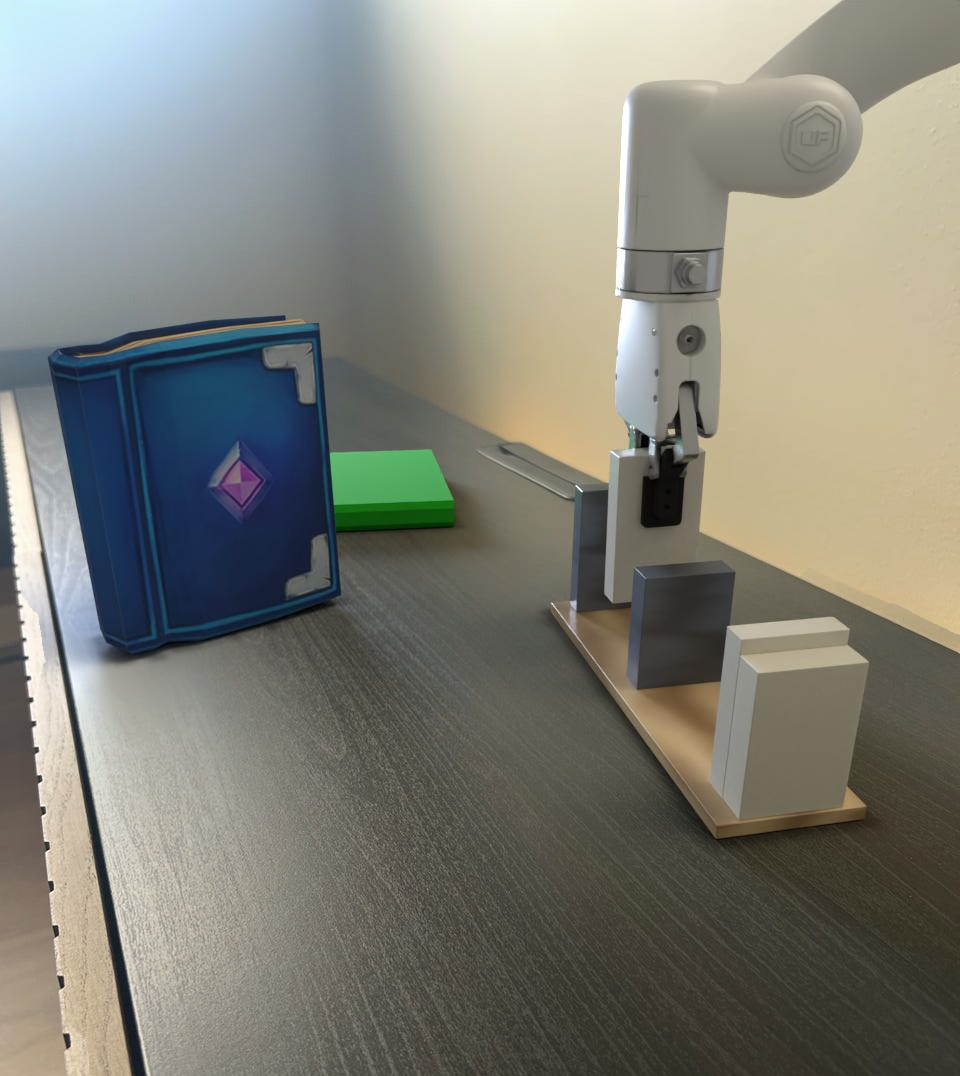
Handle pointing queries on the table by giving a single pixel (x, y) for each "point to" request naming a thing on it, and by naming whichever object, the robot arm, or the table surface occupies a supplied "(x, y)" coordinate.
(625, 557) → the white book
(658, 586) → the book rack
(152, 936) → the table surface
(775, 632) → the white books
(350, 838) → the table surface
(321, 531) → the book
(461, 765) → the table surface
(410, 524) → the green flat slab
